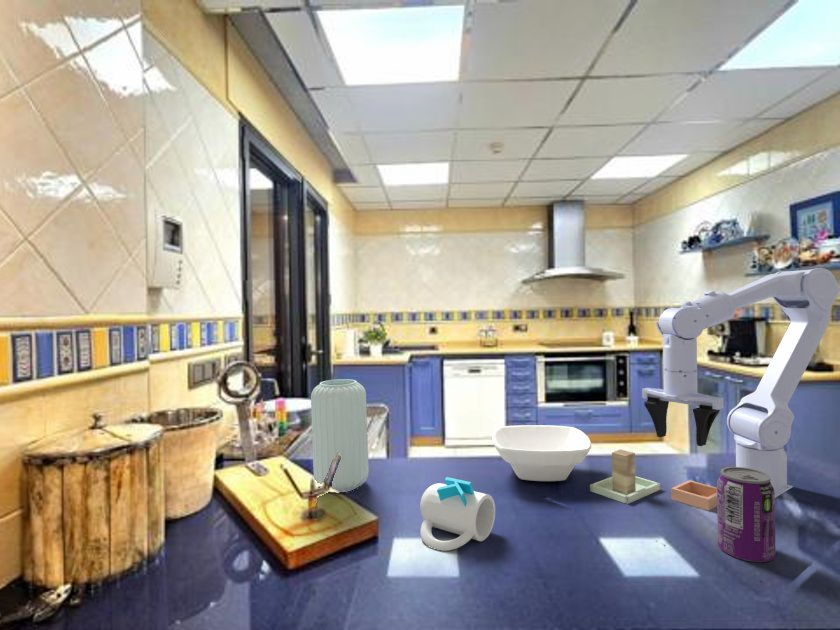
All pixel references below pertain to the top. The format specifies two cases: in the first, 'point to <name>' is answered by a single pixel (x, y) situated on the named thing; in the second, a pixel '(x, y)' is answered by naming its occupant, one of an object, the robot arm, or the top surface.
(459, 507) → the mug
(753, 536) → the beverage can
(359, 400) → the vase
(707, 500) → the orange open box
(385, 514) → the top surface
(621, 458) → the beech pin
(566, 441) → the bowl
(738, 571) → the top surface
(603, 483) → the tray
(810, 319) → the robot arm
